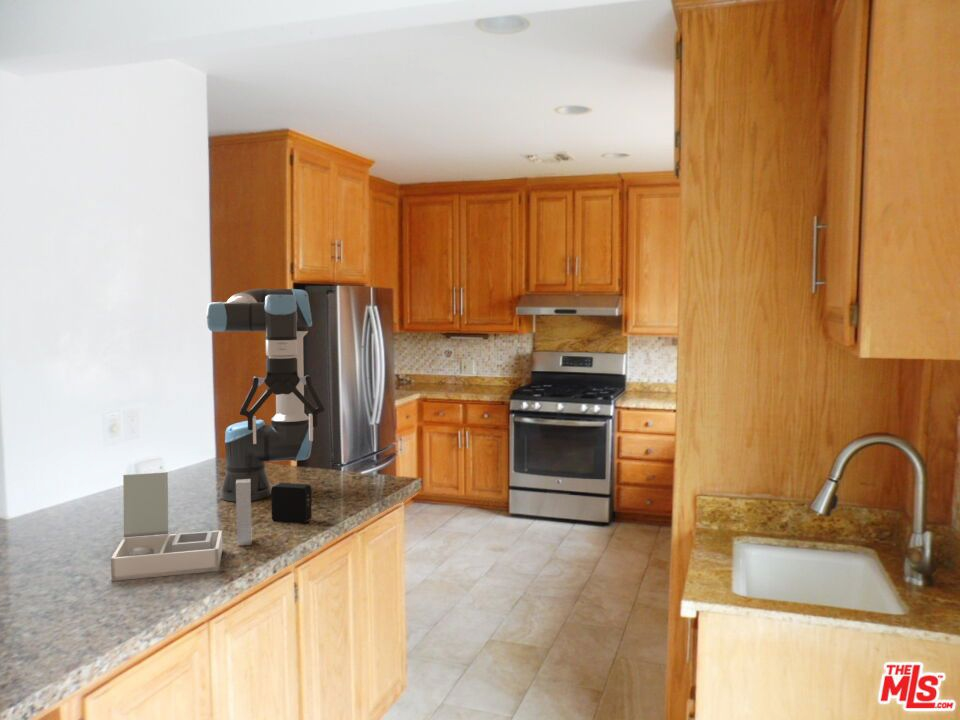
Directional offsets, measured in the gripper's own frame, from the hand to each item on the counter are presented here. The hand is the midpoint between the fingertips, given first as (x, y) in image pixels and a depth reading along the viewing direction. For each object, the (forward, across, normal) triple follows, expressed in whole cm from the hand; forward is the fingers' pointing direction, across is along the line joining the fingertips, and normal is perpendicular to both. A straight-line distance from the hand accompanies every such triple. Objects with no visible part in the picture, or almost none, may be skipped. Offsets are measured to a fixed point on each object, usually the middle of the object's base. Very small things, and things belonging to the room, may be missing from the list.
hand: (283, 441), depth 178 cm
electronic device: (+26, +3, +19) cm, 32 cm away
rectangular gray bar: (+26, -10, +3) cm, 28 cm away
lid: (+13, -32, 0) cm, 35 cm away
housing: (+26, -26, -8) cm, 38 cm away
